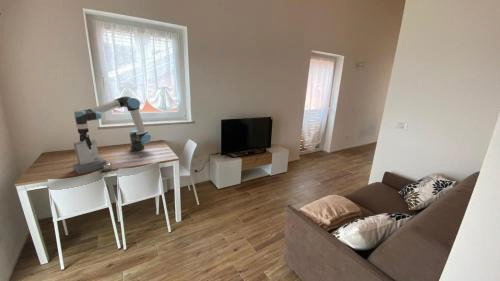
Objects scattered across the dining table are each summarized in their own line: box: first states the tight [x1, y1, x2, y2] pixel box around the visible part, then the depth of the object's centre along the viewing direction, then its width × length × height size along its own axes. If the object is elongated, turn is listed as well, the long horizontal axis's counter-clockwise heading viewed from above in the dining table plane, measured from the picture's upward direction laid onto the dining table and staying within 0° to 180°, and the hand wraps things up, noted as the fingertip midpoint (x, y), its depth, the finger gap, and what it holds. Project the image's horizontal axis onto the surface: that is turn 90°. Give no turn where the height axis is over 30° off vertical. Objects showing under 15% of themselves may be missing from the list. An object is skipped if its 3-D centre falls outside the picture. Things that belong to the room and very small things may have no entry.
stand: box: [71, 156, 107, 175], centre depth 196 cm, size 22×14×6 cm, turn 146°
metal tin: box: [102, 162, 113, 172], centre depth 195 cm, size 7×7×5 cm
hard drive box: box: [73, 139, 100, 165], centre depth 193 cm, size 16×8×20 cm, turn 140°
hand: (87, 150), depth 191 cm, fingers open, 13 cm apart
